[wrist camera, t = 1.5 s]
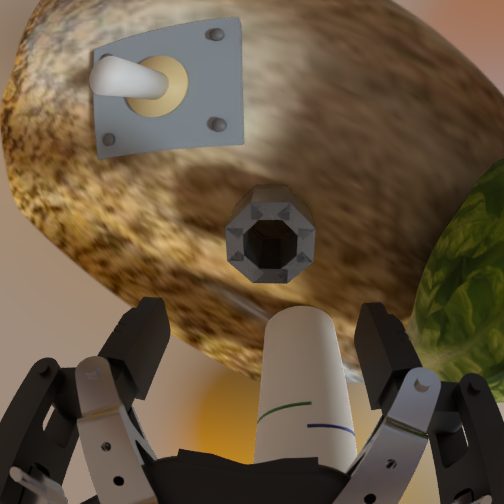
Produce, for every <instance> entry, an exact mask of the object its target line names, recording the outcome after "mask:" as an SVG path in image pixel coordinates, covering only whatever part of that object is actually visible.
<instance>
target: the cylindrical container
mask: <svg viewBox="0 0 504 504" xmlns="http://www.w3.org/2000/svg"><path fill="white" fill-rule="evenodd" d="M306 457H318V464H320V465H325V466H329V467H332V468H335V469H338V470H340V471H342V472H344V473H345V472H346V471H347V469H348V468H349V467H350V465H351V464H352V463H353V461H354V460H355V459H356V457H357V449H356V442H355V435H354V428H353V422H352V415H351V409H350V403H349V397H348V391H347V386H346V380H345V375H344V370H343V365H342V360H341V355H340V350H339V346H338V341H337V337H336V332H335V328H334V323H333V321H332V319H331V317H330V316H329V315H328V314H327V313H325V312H324V311H322V310H321V309H318V308H315V307H311V306H293V307H289V308H286V309H284V310H281V311H279V312H278V313H276V314H275V315H274V316H273V317H272V318H271V319H270V320H269V321H268V323H267V325H266V328H265V335H264V349H263V362H262V375H261V388H260V399H259V411H258V422H257V433H256V444H255V454H254V464H256V463H262V462H267V461H272V460H277V459H282V458H306Z"/></svg>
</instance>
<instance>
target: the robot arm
mask: <svg viewBox="0 0 504 504" xmlns="http://www.w3.org/2000/svg"><path fill="white" fill-rule="evenodd" d="M169 339H170V324H169V320H168V316H167V312H166V308H165V304H164V301H163V299H162V298H156V297H143V299H142V300H141V302H140V303H139V305H138V306H137V308H132V309H130V310H129V311H128V312H126V313H125V314H124V315H123V316H122V318H121V319H120V321H119V322H118V325H117V326H116V327H115V329H114V332H112V333H111V335H110V336H109V338H108V339H107V341H106V343H105V344H104V346H103V347H102V349H101V351H100V352H99V354H98V355H97V356H93V357H89V358H86V359H84V360H83V361H82V362H80V363H79V365H78V366H77V367H76V368H60V366H59V365H58V363H57V361H56V360H55V359H53V358H43V359H41V360H39V361H37V362H36V363H35V364H34V365H33V366H32V368H31V370H30V371H29V373H28V374H27V376H26V378H25V379H24V381H23V382H22V384H21V386H20V387H19V389H18V391H17V393H16V394H15V396H14V398H13V400H12V401H11V403H10V405H9V407H8V409H7V410H6V412H5V414H4V416H3V418H2V420H1V422H0V504H68V500H67V498H66V497H65V495H64V491H63V489H62V487H61V486H62V483H63V480H64V477H65V474H66V471H67V468H68V465H69V462H70V460H71V457H72V454H73V451H74V449H75V446H76V443H77V440H78V438H79V435H80V439H81V444H82V448H83V451H84V455H85V459H86V462H87V465H88V469H89V472H90V475H91V478H92V481H93V484H94V487H95V490H96V492H97V495H95V496H93V497H92V498H90V499H88V500H86V501H84V502H82V503H80V504H398V502H399V501H400V499H401V497H402V495H403V494H404V492H405V490H406V488H407V486H408V484H409V482H410V480H411V478H412V476H413V474H414V472H415V470H416V468H417V466H418V464H419V461H420V459H421V457H422V455H423V452H424V450H425V447H426V445H427V442H428V438H429V440H430V444H431V449H432V454H433V459H434V464H435V469H436V476H437V481H438V488H439V495H440V503H441V504H504V422H503V419H502V416H501V413H500V411H499V408H498V406H497V404H496V401H495V399H494V396H493V394H492V392H491V390H490V387H489V385H488V383H487V381H486V380H485V379H484V378H483V377H482V376H480V375H479V374H476V373H467V374H465V375H464V376H463V377H462V378H461V380H460V381H459V382H447V381H440V379H439V377H438V376H437V375H436V374H435V373H434V372H433V371H431V370H429V369H427V368H423V366H422V364H421V362H420V359H419V357H418V355H417V353H416V351H415V349H414V347H413V344H412V342H411V341H410V338H409V336H408V334H407V333H406V330H405V328H404V326H403V324H402V322H401V321H400V320H399V319H398V318H396V317H395V316H394V315H393V314H388V313H387V311H386V309H385V307H384V305H383V304H382V303H381V302H377V303H363V305H362V307H361V311H360V315H359V318H358V322H357V326H356V330H355V335H354V344H355V348H356V352H357V355H358V359H359V363H360V366H361V370H362V374H363V378H364V382H365V385H366V389H367V393H368V397H369V402H370V406H371V410H375V409H381V410H382V414H383V415H382V416H381V418H380V420H379V421H378V423H377V425H376V427H375V428H374V430H373V432H372V433H371V435H370V437H369V439H368V440H367V442H366V443H365V445H364V447H363V448H362V450H361V452H360V453H359V454H358V456H357V457H356V459H355V460H354V461H353V463H352V464H351V465H350V467H349V468H348V469H347V471H346V472H345V473H344V472H342V471H340V470H338V469H335V468H332V467H329V466H325V465H320V464H318V457H306V458H282V459H277V460H272V461H267V462H262V463H256V464H249V465H247V464H242V463H238V462H235V461H232V460H229V459H226V458H222V457H220V456H217V455H214V454H210V453H202V452H195V451H189V450H184V449H179V452H178V455H177V456H171V457H165V458H161V459H157V457H156V455H155V453H154V452H153V450H152V449H151V447H150V445H149V443H148V441H147V439H146V437H145V434H144V432H143V430H142V427H141V425H140V423H139V420H138V417H137V415H136V412H135V410H134V407H133V405H132V403H133V401H134V398H136V399H141V400H145V398H146V395H147V393H148V390H149V388H150V385H151V383H152V380H153V378H154V375H155V373H156V371H157V368H158V366H159V363H160V361H161V358H162V356H163V353H164V351H165V349H166V346H167V344H168V342H169ZM51 405H52V406H53V407H54V408H55V409H54V411H53V413H52V415H51V417H50V419H49V422H48V424H47V426H46V428H45V430H44V431H43V421H44V419H45V417H46V415H47V413H48V411H49V409H50V406H51ZM462 425H463V427H464V431H465V434H466V437H467V441H468V446H467V443H466V439H465V436H464V432H463V429H462ZM426 434H428V435H426Z"/></svg>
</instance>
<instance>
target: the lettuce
mask: <svg viewBox="0 0 504 504" xmlns="http://www.w3.org/2000/svg"><path fill="white" fill-rule="evenodd" d="M406 333H407V334H408V336H409V338H410V341H411V342H412V344H413V347H414V349H415V351H416V353H417V355H418V357H419V359H420V362H421V364H422V366H423V368H427V369H429V370H431V371H433V372H434V373H435V374H436V375H437V376H438V377H439V379H440V381H447V382H459V381H460V380H461V378H462V377H463V376H464V375H465V374H467V373H476V374H479V375H480V376H482V377H483V378H484V379H485V380H486V381H487V383H488V385H489V387H490V390H491V392H492V394H493V396H494V399H495V401H496V403H500V402H504V159H502V160H500V161H498V162H497V163H495V164H493V165H492V166H491V167H490V168H489V170H488V171H487V172H486V173H485V174H484V175H483V176H482V177H481V178H480V179H479V180H478V181H477V183H476V184H475V185H474V187H473V188H472V190H471V192H470V193H469V195H468V196H467V198H466V200H465V201H464V203H463V204H462V206H461V207H460V209H459V210H458V212H457V213H456V214H455V216H454V217H453V219H452V220H451V221H450V223H449V224H448V226H447V227H446V228H445V230H444V231H443V233H442V235H441V236H440V238H439V240H438V241H437V243H436V245H435V246H434V248H433V250H432V252H431V255H430V257H429V259H428V262H427V264H426V266H425V269H424V271H423V274H422V277H421V280H420V283H419V286H418V289H417V293H416V298H415V303H414V308H413V312H412V315H411V317H410V320H409V322H408V325H407V328H406Z"/></svg>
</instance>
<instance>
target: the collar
mask: <svg viewBox="0 0 504 504" xmlns="http://www.w3.org/2000/svg"><path fill="white" fill-rule="evenodd" d="M258 220H283V221H284V222H285V223H286V224H287V225H288V226H289V227H290V228H291V230H290V231H289V232H287V233H286V234H285V235H284V236H283V237H282V238H281V239H263V238H262V237H261V236H260V235H258V234H257V233H256V232H255V231H254V230H253V229H252V228H251V227H252V226H253V225H254V224H255V223H256V222H257V221H258ZM225 234H226V249H227V261H228V262H229V263H230V264H231V265H233V266H234V267H235V268H236V269H237V270H238V271H240V272H241V273H242V274H243V275H244V276H245V277H247V278H248V279H249V280H250V281H251V282H252V283H286V284H287V283H288V282H290V281H291V280H292V279H293V278H295V277H296V276H297V275H298V274H300V273H301V272H302V271H303V270H305V269H306V268H307V267H308V266H309V265H311V264H312V263H313V259H314V247H315V234H316V228H315V225H314V222H313V220H312V217H311V214H310V211H309V209H308V206H307V205H306V204H305V203H304V202H303V201H302V200H301V199H300V198H299V197H298V196H297V195H296V194H295V193H294V192H293V190H292V189H291V188H290V187H289V186H288V185H256V186H255V187H254V188H253V189H252V190H251V191H250V192H249V193H248V194H247V195H246V196H245V197H244V198H243V199H242V200H241V201H240V202H239V203H238V204H237V205H236V206H235V208H234V210H233V212H232V214H231V217H230V219H229V221H228V223H227V225H226V227H225Z"/></svg>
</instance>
